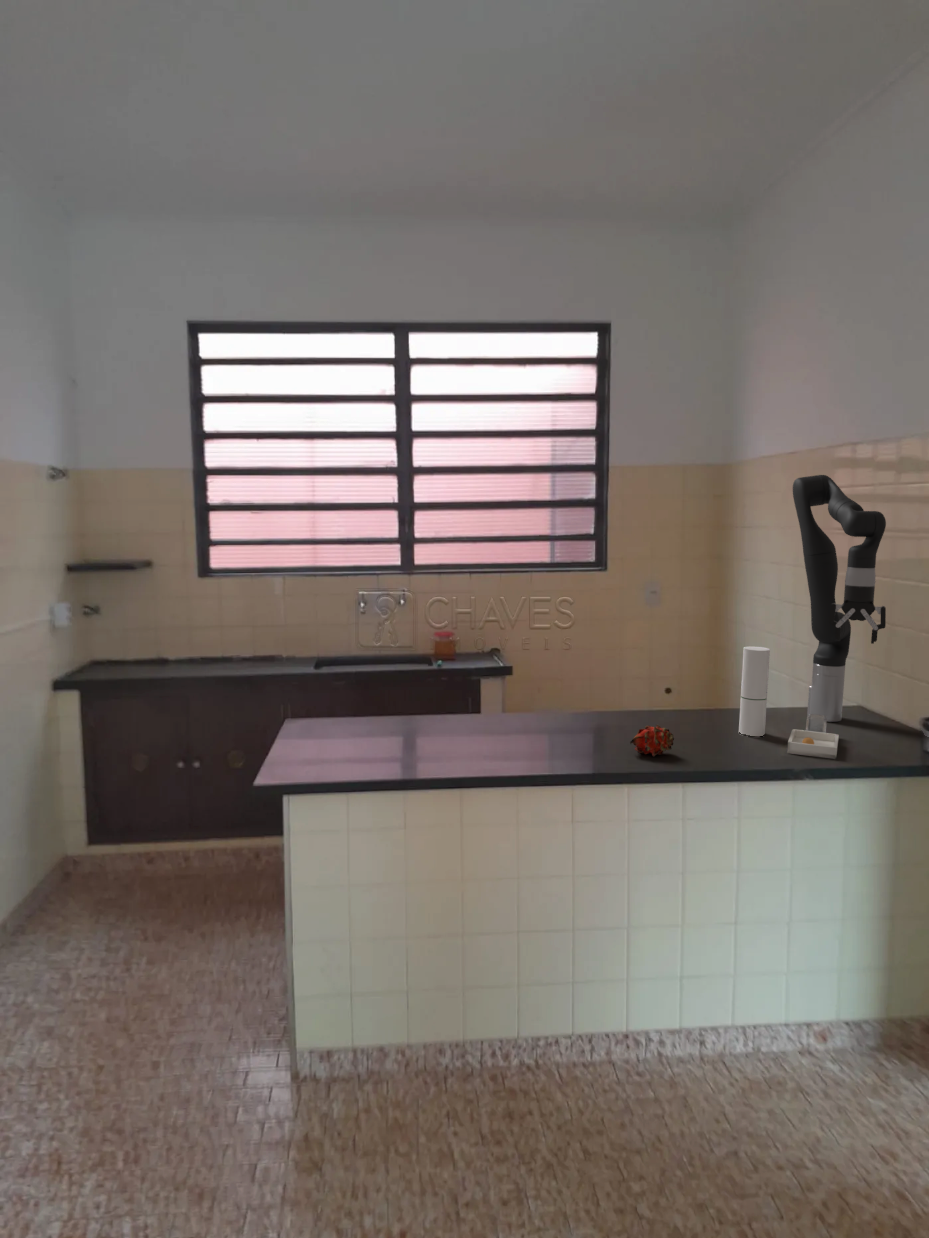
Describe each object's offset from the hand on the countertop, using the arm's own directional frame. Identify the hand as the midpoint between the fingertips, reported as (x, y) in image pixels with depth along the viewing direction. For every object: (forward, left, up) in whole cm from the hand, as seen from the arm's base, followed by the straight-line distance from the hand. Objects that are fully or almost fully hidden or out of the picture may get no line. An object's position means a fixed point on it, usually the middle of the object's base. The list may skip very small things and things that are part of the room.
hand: (855, 642), depth 240 cm
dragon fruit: (-5, -61, -28) cm, 67 cm away
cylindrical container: (-14, -22, -28) cm, 38 cm away
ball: (+6, -20, -26) cm, 33 cm away
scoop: (-5, -7, -28) cm, 30 cm away
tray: (+4, -16, -28) cm, 33 cm away
